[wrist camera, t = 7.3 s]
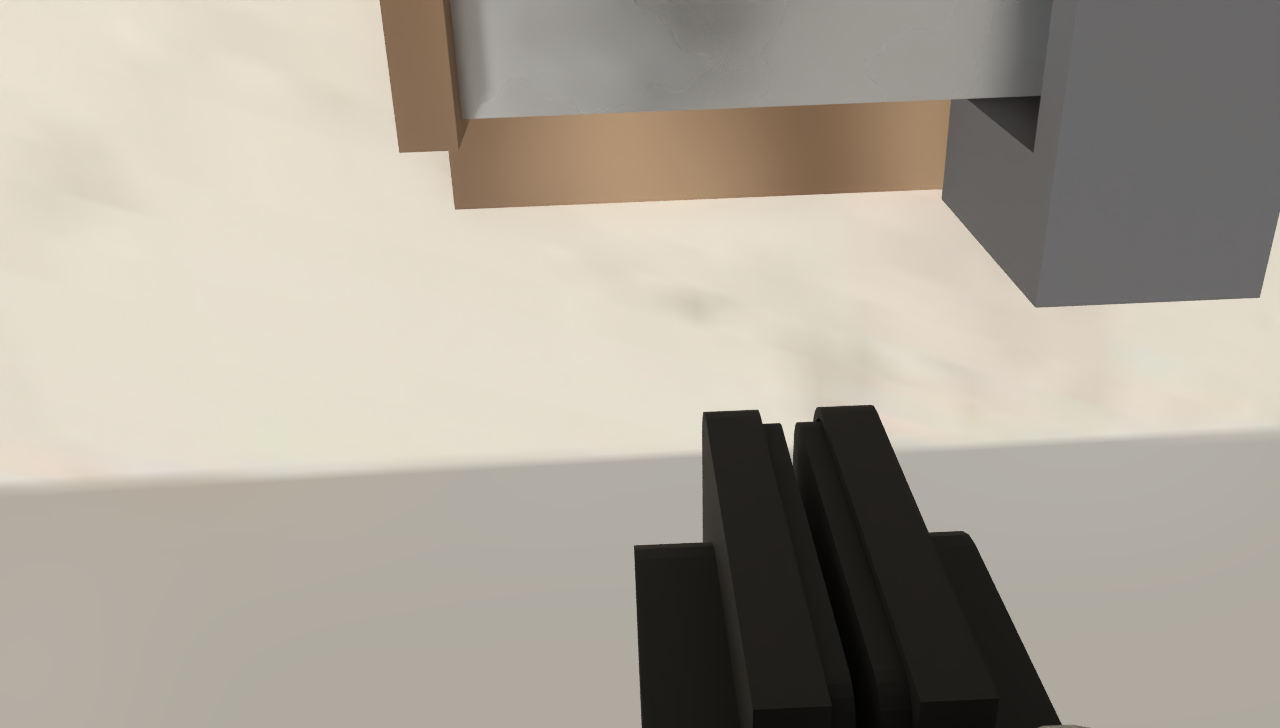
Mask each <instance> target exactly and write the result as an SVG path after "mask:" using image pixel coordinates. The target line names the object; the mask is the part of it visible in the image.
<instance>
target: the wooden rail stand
mask: <svg viewBox="0 0 1280 728" xmlns="http://www.w3.org/2000/svg"><path fill="white" fill-rule="evenodd" d="M380 6H381V14H382V22H383V30H384V37H385V45H386V53H387V60H388V68H389V76H390V83H391V91H392V99H393V106H394V114H395V122H396V130H397V137H398V145H399V153H403V152H427V151H449V159H450V168H451V177H452V186H453V195H454V204H455V209H479V208H503V207H526V206H550V205H574V204H598V203H622V202H645V201H669V200H693V199H717V198H741V197H764V196H788V195H812V194H836V193H859V192H883V191H907V190H931V189H943V180H944V169H945V159H946V148H947V137H948V126H949V116H950V105H951V99H949V100H924V101H899V102H875V103H850V104H825V105H801V106H776V107H751V108H726V109H702V110H677V111H652V112H628V113H603V114H578V115H554V116H529V117H504V118H479V119H462V113H461V103H460V93H459V84H458V74H457V64H456V54H455V45H454V35H453V25H452V16H451V6H450V0H380Z"/></svg>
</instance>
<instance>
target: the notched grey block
mask: <svg viewBox="0 0 1280 728" xmlns="http://www.w3.org/2000/svg"><path fill="white" fill-rule="evenodd" d="M942 200H943V201H944V202H945V203H946V205H947V206H948V207H949V208H950V209H951V210H952V212H953V213H954V214H955V215H956V216H957V217H958V218H959V220H960V221H961V222H962V223H963V224H964V225H965V227H966V228H967V229H968V230H969V231H970V232H971V234H972V235H973V236H974V237H975V238H976V239H977V240H978V242H979V243H980V244H981V245H982V246H983V247H984V249H985V250H986V251H987V252H988V253H989V254H990V255H991V257H992V258H993V259H994V260H995V261H996V262H997V264H998V265H999V266H1000V267H1001V268H1002V269H1003V270H1004V272H1005V273H1006V274H1007V275H1008V276H1009V277H1010V279H1011V280H1012V281H1013V282H1014V283H1015V284H1016V286H1017V287H1018V288H1019V289H1020V290H1021V291H1022V292H1023V294H1024V295H1025V296H1026V297H1027V298H1028V299H1029V301H1030V302H1031V303H1032V304H1033V305H1034V306H1035V307H1059V306H1081V305H1104V304H1127V303H1149V302H1172V301H1195V300H1217V299H1240V298H1260V293H1261V289H1262V285H1263V281H1264V276H1265V272H1266V268H1267V264H1268V259H1269V255H1270V251H1271V247H1272V242H1273V238H1274V234H1275V230H1276V225H1277V221H1278V217H1279V212H1280V0H1053V6H1052V14H1051V22H1050V29H1049V37H1048V45H1047V53H1046V61H1045V68H1044V76H1043V84H1042V92H1041V96H1023V97H998V98H973V99H951V105H950V116H949V126H948V137H947V148H946V159H945V169H944V180H943V191H942Z"/></svg>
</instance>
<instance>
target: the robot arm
mask: <svg viewBox="0 0 1280 728" xmlns="http://www.w3.org/2000/svg"><path fill="white" fill-rule="evenodd" d="M702 459H703V460H702V465H703V543H681V544H659V545H636V546H634V553H635V554H634V555H635V579H636V603H637V626H638V650H639V651H638V652H639V675H640V698H641V719H642V728H1088V727H1082V726H1077V725H1062V724H1061V722H1060V720H1059V718H1058V716H1057V714H1056V712H1055V710H1054V708H1053V705H1052V703H1051V701H1050V700H1049V697H1048V695H1047V693H1046V691H1045V689H1044V687H1043V685H1042V682H1041V680H1040V678H1039V676H1038V674H1037V672H1036V670H1035V668H1034V666H1033V664H1032V662H1031V660H1030V658H1029V655H1028V653H1027V651H1026V649H1025V647H1024V645H1023V643H1022V641H1021V639H1020V637H1019V635H1018V633H1017V631H1016V628H1015V626H1014V624H1013V622H1012V620H1011V618H1010V616H1009V614H1008V612H1007V610H1006V608H1005V606H1004V603H1003V601H1002V599H1001V597H1000V595H999V593H998V591H997V589H996V587H995V585H994V583H993V581H992V579H991V576H990V574H989V572H988V570H987V568H986V566H985V564H984V562H983V560H982V558H981V556H980V553H979V551H978V549H977V547H976V545H975V543H974V542H973V540H972V539H971V537H970V536H969V535H968V534H967V533H965V532H963V531H954V532H933V533H929V532H928V530H927V528H926V526H925V523H924V521H923V518H922V516H921V514H920V511H919V509H918V507H917V504H916V502H915V500H914V497H913V495H912V493H911V490H910V488H909V485H908V483H907V481H906V478H905V476H904V474H903V471H902V469H901V467H900V465H899V462H898V460H897V457H896V455H895V453H894V450H893V448H892V446H891V443H890V441H889V439H888V436H887V434H886V432H885V429H884V427H883V425H882V422H881V420H880V418H879V415H878V413H877V411H876V409H875V407H874V406H873V405H859V406H835V407H817V408H816V410H815V414H814V420H813V422H797V423H796V425H795V431H794V450H793V465H792V462H791V458H790V454H789V451H788V447H787V443H786V440H785V436H784V433H783V429H782V426H781V424H780V423H773V424H762V420H761V416H760V413H759V411H758V410H741V411H717V412H703V421H702Z"/></svg>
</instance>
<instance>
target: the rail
mask: <svg viewBox="0 0 1280 728" xmlns="http://www.w3.org/2000/svg"><path fill="white" fill-rule="evenodd" d="M450 6H451V16H452V25H453V35H454V45H455V54H456V64H457V74H458V84H459V93H460V103H461V113H462V119H479V118H504V117H529V116H554V115H578V114H603V113H628V112H652V111H677V110H702V109H726V108H751V107H776V106H801V105H825V104H850V103H875V102H899V101H924V100H949V99H973V98H998V97H1023V96H1041V92H1042V84H1043V76H1044V68H1045V61H1046V53H1047V45H1048V37H1049V29H1050V22H1051V14H1052V6H1053V0H450Z"/></svg>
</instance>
